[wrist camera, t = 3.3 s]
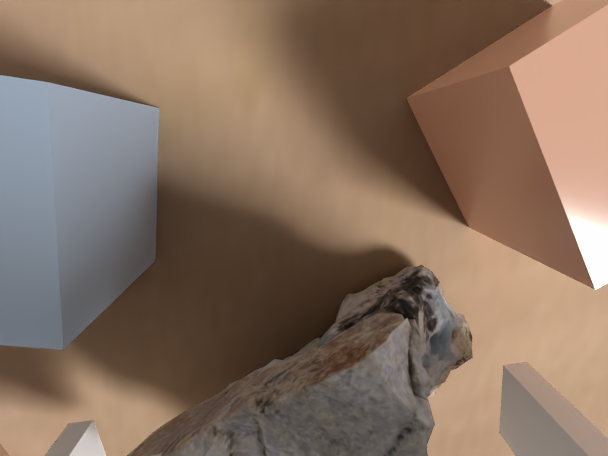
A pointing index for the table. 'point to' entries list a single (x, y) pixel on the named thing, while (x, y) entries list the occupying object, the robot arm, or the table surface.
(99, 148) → the slate-blue cube
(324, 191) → the table surface
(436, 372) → the mineral specimen
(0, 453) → the walnut cube
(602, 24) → the salmon-pink cube
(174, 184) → the table surface
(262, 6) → the table surface
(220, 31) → the table surface
